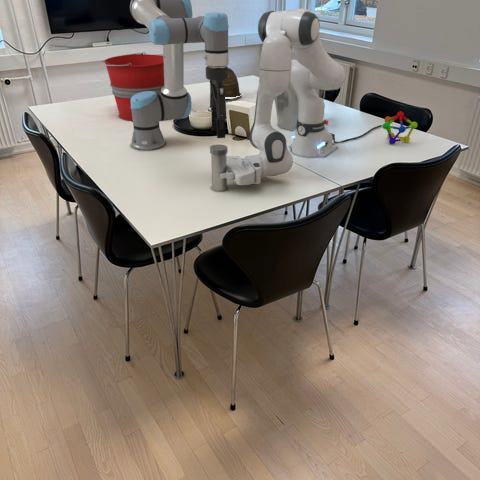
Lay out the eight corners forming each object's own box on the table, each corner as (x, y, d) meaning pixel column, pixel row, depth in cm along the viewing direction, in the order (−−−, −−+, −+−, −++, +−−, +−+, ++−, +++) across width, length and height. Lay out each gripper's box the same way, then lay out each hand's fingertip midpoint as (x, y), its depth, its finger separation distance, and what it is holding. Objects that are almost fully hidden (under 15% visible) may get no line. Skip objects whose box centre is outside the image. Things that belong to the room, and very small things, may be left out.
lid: (219, 156, 156) (219, 151, 155) (206, 152, 160) (206, 147, 159) (231, 151, 160) (231, 147, 159) (218, 147, 164) (217, 143, 163)
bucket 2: (296, 138, 215) (301, 78, 201) (255, 124, 234) (256, 68, 219) (335, 125, 232) (342, 70, 217) (294, 113, 251) (297, 61, 236)
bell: (227, 105, 294) (202, 96, 282) (238, 66, 289) (213, 55, 277) (243, 108, 280) (217, 98, 268) (255, 66, 275) (229, 55, 263)
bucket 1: (119, 105, 264) (111, 51, 248) (177, 106, 263) (173, 52, 247) (101, 123, 234) (92, 63, 218) (167, 124, 233) (162, 63, 218)
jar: (220, 192, 164) (219, 152, 156) (209, 188, 167) (207, 148, 159) (229, 187, 168) (229, 148, 160) (218, 183, 171) (218, 144, 163)
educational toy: (377, 146, 209) (379, 114, 202) (384, 138, 219) (386, 107, 211) (411, 149, 202) (415, 116, 195) (417, 141, 212) (420, 109, 204)
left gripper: (199, 60, 152) (202, 125, 164) (212, 73, 135) (214, 144, 147) (221, 59, 154) (222, 124, 166) (235, 72, 136) (235, 142, 148)
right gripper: (242, 150, 175) (208, 154, 170) (262, 169, 158) (225, 174, 154) (241, 165, 178) (208, 169, 174) (261, 185, 162) (225, 191, 157)
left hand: (218, 133), depth 156 cm, fingers open, 8 cm apart
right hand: (216, 172), depth 164 cm, fingers closed on jar, 5 cm apart
